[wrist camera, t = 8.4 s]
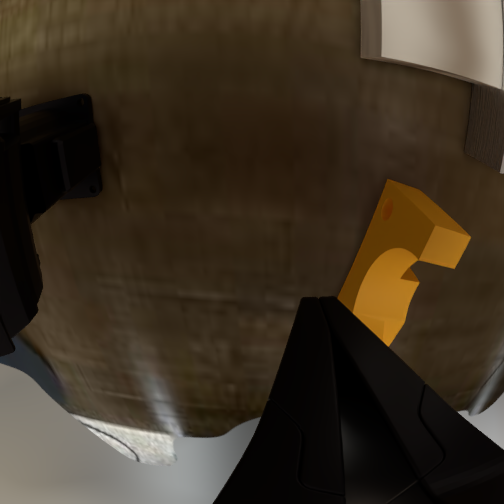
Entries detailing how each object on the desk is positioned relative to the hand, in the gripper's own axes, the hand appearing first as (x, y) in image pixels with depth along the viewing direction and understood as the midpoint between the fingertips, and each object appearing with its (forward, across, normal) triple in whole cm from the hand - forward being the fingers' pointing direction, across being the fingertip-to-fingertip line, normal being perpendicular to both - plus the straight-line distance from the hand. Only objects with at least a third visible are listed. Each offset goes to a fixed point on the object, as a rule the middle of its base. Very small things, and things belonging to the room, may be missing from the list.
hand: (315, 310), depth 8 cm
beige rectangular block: (+12, -8, -13) cm, 20 cm away
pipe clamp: (+12, -8, +7) cm, 16 cm away
